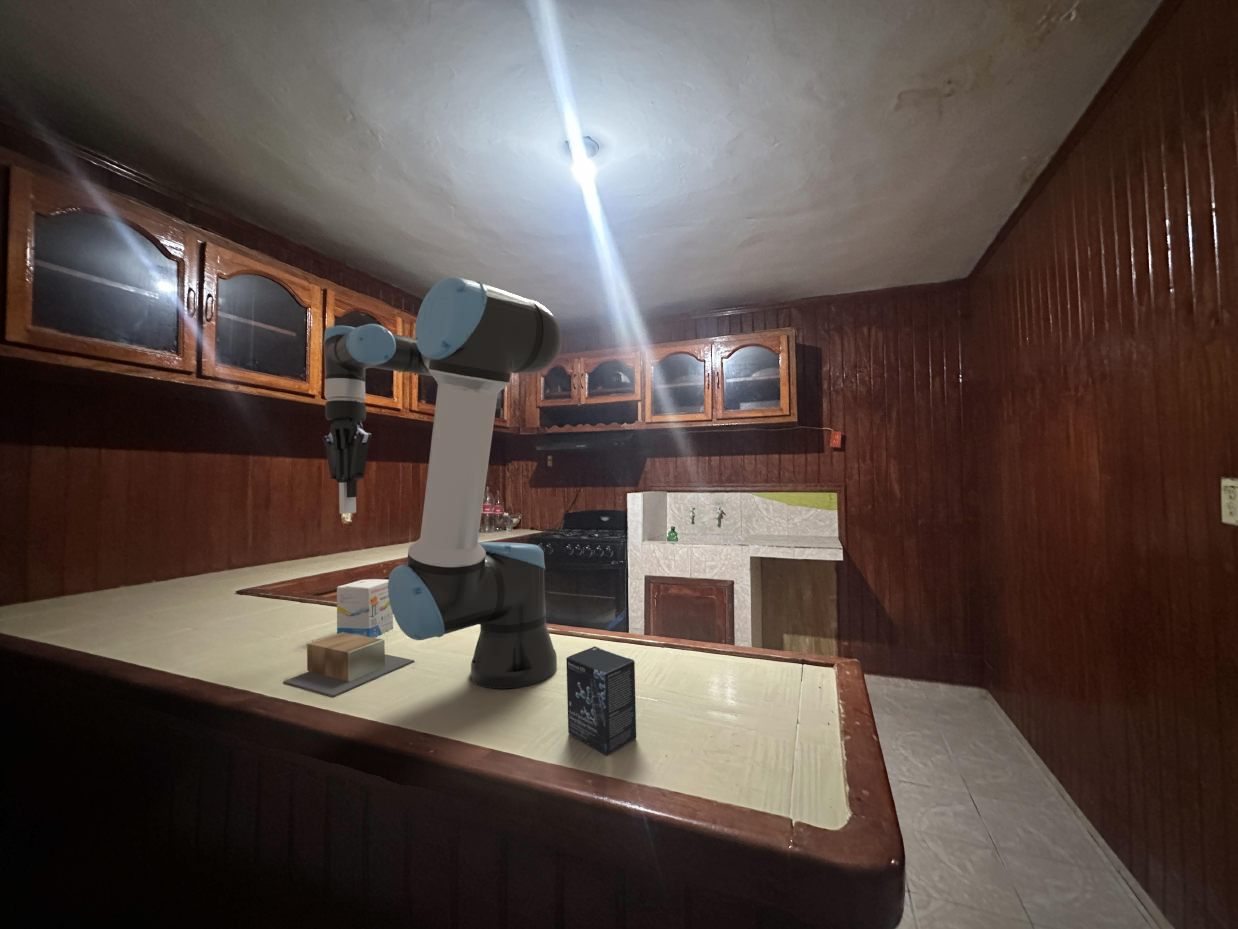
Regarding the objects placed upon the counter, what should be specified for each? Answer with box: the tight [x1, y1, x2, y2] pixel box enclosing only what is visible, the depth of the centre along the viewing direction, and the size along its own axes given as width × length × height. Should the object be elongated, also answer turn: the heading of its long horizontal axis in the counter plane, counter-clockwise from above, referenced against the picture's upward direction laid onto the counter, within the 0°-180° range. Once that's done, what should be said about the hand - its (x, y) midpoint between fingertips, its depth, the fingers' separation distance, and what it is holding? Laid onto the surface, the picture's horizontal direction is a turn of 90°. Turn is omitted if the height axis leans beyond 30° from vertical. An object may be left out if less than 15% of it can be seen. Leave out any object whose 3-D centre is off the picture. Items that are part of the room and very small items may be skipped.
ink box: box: [336, 578, 394, 638], centre depth 112 cm, size 9×8×12 cm
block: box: [306, 632, 386, 681], centre depth 90 cm, size 5×7×12 cm
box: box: [565, 645, 637, 756], centre depth 65 cm, size 8×6×11 cm
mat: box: [282, 653, 415, 698], centre depth 89 cm, size 14×16×1 cm
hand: (347, 513), depth 102 cm, fingers closed
